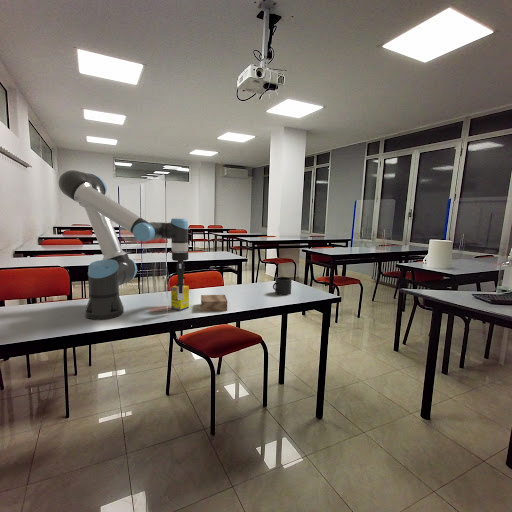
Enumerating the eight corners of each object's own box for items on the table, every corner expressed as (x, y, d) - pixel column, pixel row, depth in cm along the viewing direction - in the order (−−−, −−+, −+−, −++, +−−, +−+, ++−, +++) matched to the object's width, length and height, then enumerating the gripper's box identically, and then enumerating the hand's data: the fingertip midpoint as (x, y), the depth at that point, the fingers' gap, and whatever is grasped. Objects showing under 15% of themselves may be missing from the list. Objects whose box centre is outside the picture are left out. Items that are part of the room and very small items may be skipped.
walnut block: (201, 312, 140) (201, 301, 139) (201, 304, 152) (201, 295, 151) (227, 311, 142) (227, 301, 142) (224, 304, 154) (224, 294, 153)
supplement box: (170, 309, 142) (170, 286, 141) (179, 306, 147) (179, 284, 146) (180, 311, 139) (180, 288, 138) (189, 308, 144) (189, 285, 143)
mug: (268, 292, 179) (269, 277, 178) (284, 290, 185) (285, 276, 184) (277, 296, 171) (277, 281, 170) (294, 294, 177) (294, 279, 176)
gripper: (188, 254, 129) (189, 302, 131) (188, 248, 153) (188, 289, 155) (170, 255, 127) (171, 303, 130) (172, 249, 151) (173, 290, 154)
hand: (181, 296), depth 142 cm, fingers open, 13 cm apart
